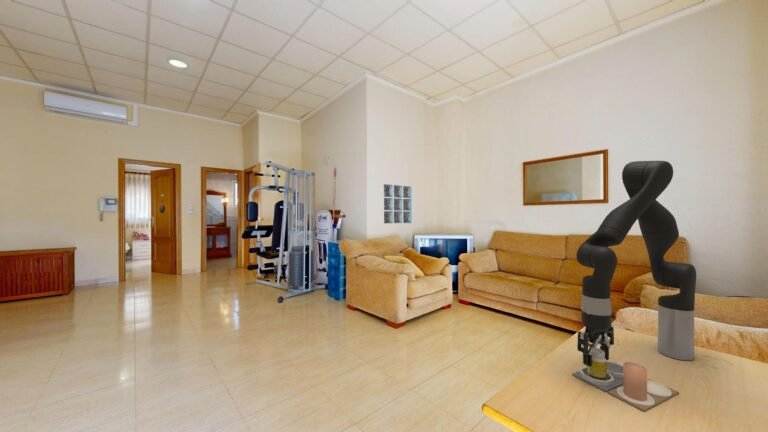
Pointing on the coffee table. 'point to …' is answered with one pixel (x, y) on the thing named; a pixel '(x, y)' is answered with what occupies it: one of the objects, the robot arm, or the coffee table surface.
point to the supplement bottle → (597, 365)
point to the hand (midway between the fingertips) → (596, 362)
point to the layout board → (629, 385)
